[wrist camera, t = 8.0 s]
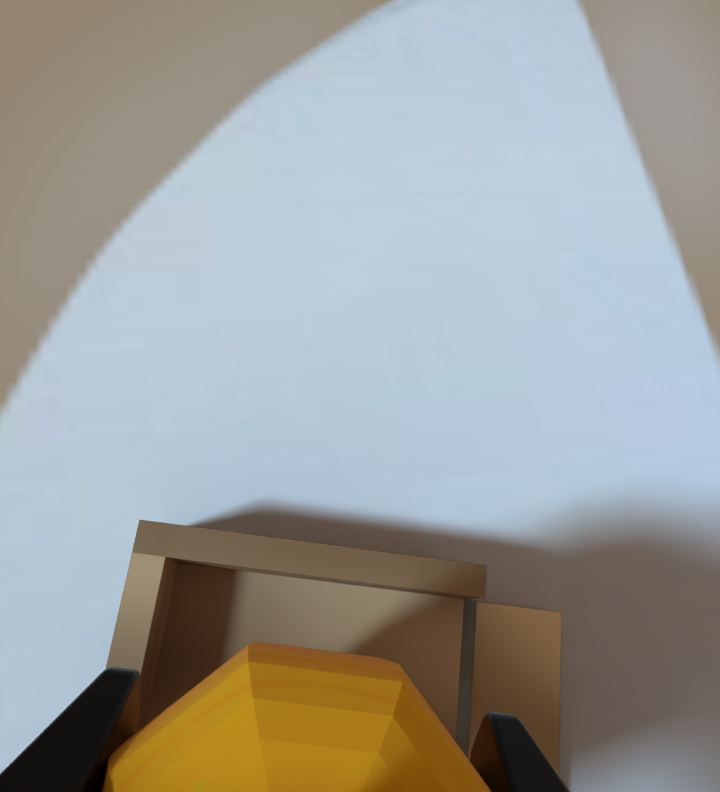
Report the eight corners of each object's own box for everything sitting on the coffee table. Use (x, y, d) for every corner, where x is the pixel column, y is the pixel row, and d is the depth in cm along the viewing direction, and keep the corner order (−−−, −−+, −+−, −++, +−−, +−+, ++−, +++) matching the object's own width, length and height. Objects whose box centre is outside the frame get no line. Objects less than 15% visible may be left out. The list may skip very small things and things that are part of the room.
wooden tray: (546, 935, 17) (600, 1001, 14) (83, 893, 16) (41, 953, 13) (553, 584, 20) (599, 579, 17) (161, 533, 19) (139, 519, 16)
